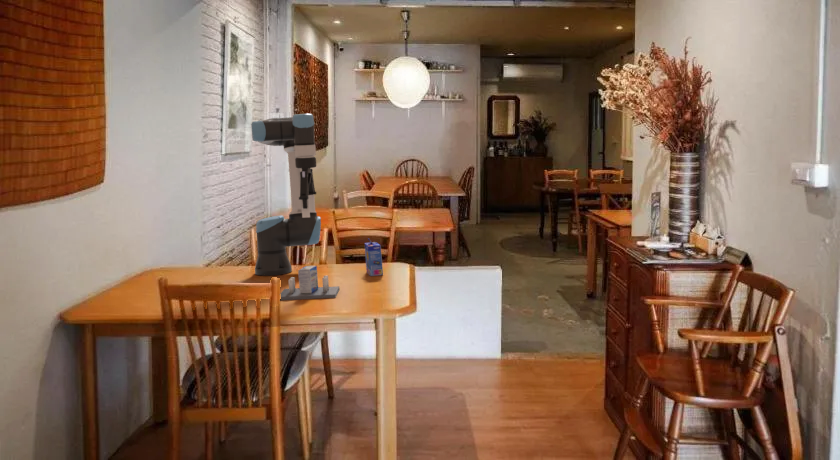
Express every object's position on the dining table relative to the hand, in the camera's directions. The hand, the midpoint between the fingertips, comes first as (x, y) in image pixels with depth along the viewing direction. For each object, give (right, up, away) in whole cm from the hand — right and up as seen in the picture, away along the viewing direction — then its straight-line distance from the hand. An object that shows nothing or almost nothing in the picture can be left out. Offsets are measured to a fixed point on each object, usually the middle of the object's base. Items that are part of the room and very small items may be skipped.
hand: (309, 214), depth 287 cm
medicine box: (+1, -28, -9) cm, 29 cm away
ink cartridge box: (+22, -23, +27) cm, 42 cm away
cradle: (+1, -29, -9) cm, 30 cm away
